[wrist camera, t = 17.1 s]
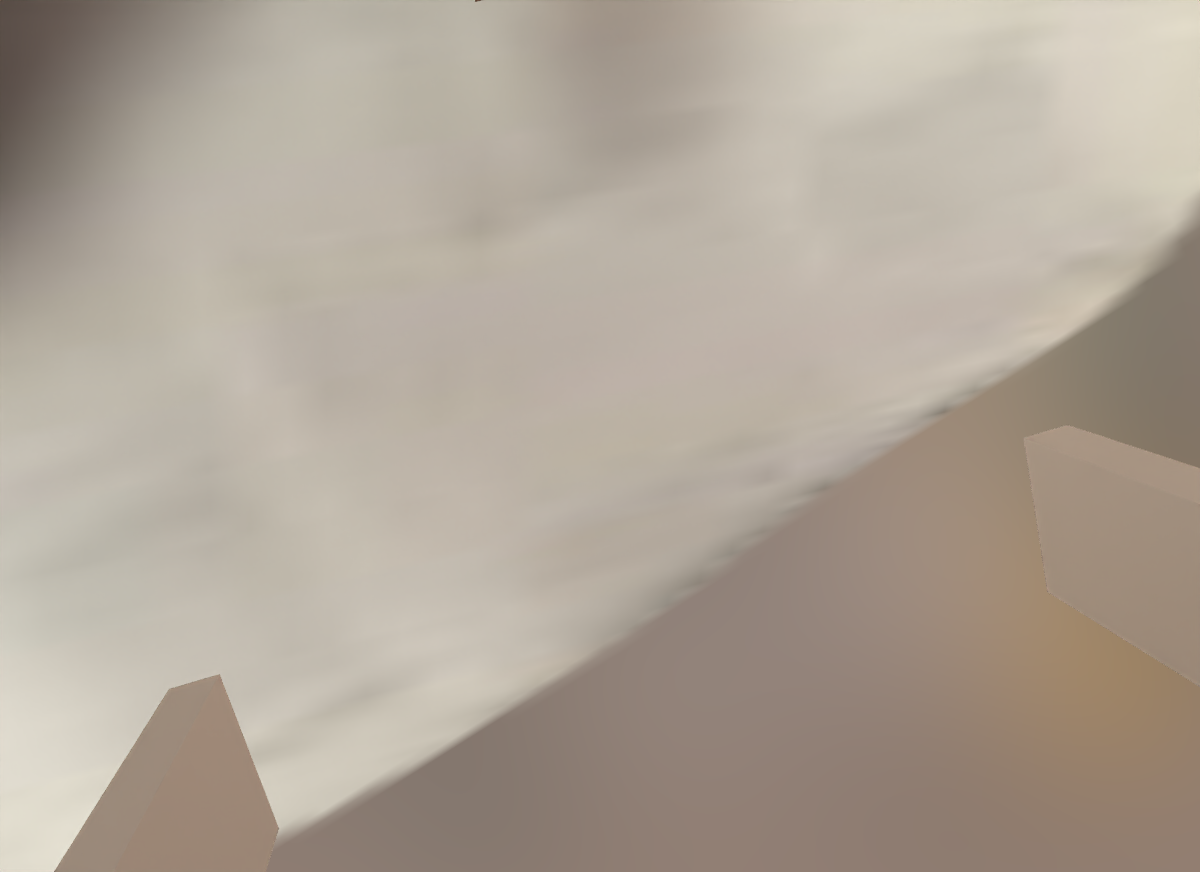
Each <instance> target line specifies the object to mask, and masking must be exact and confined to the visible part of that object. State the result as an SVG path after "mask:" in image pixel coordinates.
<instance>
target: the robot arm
mask: <svg viewBox="0 0 1200 872" xmlns="http://www.w3.org/2000/svg"><path fill="white" fill-rule="evenodd" d="M1024 443H1025V450H1026V456H1027V462H1028V470H1029V475H1030V482H1031V489H1032V495H1033V502H1034V508H1035V515H1036V521H1037V527H1038V534H1039V540H1040V546H1041V553H1042V559H1043V566H1044V573H1045V579H1046V586H1047V592H1049V593H1050V594H1052V595H1053V596H1055V597H1057V598H1058V599H1060V600H1061V601H1063V602H1065V603H1066V604H1068V605H1069V606H1071V607H1073V608H1074V609H1076V610H1077V611H1079V612H1081V613H1082V614H1084V615H1085V616H1087V617H1089V618H1090V619H1092V620H1094V621H1095V622H1097V623H1098V624H1100V625H1102V626H1103V627H1105V628H1106V629H1108V630H1110V631H1111V632H1113V633H1115V634H1116V635H1118V636H1119V637H1121V638H1122V639H1124V640H1126V641H1127V642H1129V643H1130V644H1132V645H1134V646H1135V647H1137V648H1139V649H1140V650H1142V651H1144V652H1145V653H1146V654H1148V655H1150V656H1151V657H1153V658H1155V659H1156V660H1158V661H1159V662H1161V663H1162V664H1164V665H1166V666H1167V667H1169V668H1171V669H1172V670H1174V671H1175V672H1177V673H1178V674H1180V675H1182V676H1183V677H1185V678H1187V679H1188V680H1190V681H1191V682H1193V683H1195V684H1196V685H1198V686H1199V687H1200V468H1197V467H1194V466H1191V465H1188V464H1185V463H1182V462H1179V461H1176V460H1173V459H1170V458H1167V457H1163V456H1161V455H1157V454H1154V453H1151V452H1148V451H1145V450H1142V449H1139V448H1136V447H1133V446H1130V445H1127V444H1124V443H1121V442H1118V441H1115V440H1112V439H1109V438H1106V437H1103V436H1099V435H1097V434H1094V433H1090V432H1087V431H1084V430H1081V429H1078V428H1075V427H1072V426H1069V425H1065V426H1062V427H1059V428H1055V429H1052V430H1048V431H1045V432H1042V433H1038V434H1035V435H1031V436H1028V437H1025V438H1024ZM278 829H279V828H278V825H277V823H276V820H275V817H274V815H273V812H272V810H271V807H270V804H269V802H268V799H267V797H266V794H265V791H264V789H263V786H262V784H261V781H260V778H259V776H258V773H257V771H256V768H255V765H254V763H253V760H252V758H251V755H250V752H249V750H248V747H247V745H246V742H245V739H244V737H243V734H242V732H241V729H240V726H239V724H238V721H237V718H236V716H235V713H234V711H233V708H232V705H231V703H230V700H229V698H228V695H227V692H226V690H225V687H224V685H223V682H222V679H221V677H220V674H219V675H215V676H212V677H209V678H205V679H202V680H198V681H195V682H192V683H188V684H185V685H181V686H178V687H175V688H171V689H169V690H168V692H167V693H166V695H165V696H164V698H163V700H162V701H161V703H160V704H159V706H158V708H157V709H156V711H155V712H154V714H153V716H152V717H151V719H150V720H149V722H148V724H147V725H146V727H145V728H144V730H143V731H142V733H141V735H140V736H139V738H138V739H137V741H136V743H135V744H134V746H133V747H132V749H131V751H130V752H129V754H128V755H127V757H126V758H125V760H124V762H123V763H122V765H121V766H120V768H119V770H118V771H117V773H116V774H115V776H114V778H113V779H112V781H111V782H110V784H109V785H108V787H107V789H106V790H105V792H104V793H103V795H102V797H101V798H100V800H99V801H98V803H97V805H96V806H95V808H94V809H93V811H92V812H91V814H90V816H89V817H88V819H87V820H86V822H85V824H84V825H83V827H82V828H81V830H80V832H79V833H78V835H77V836H76V838H75V839H74V841H73V843H72V844H71V846H70V847H69V849H68V851H67V852H66V854H65V855H64V857H63V859H62V860H61V862H60V863H59V865H58V866H57V868H56V870H55V871H54V872H266V869H267V866H268V863H269V859H270V856H271V853H272V849H273V846H274V843H275V839H276V836H277V833H278Z"/></svg>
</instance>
